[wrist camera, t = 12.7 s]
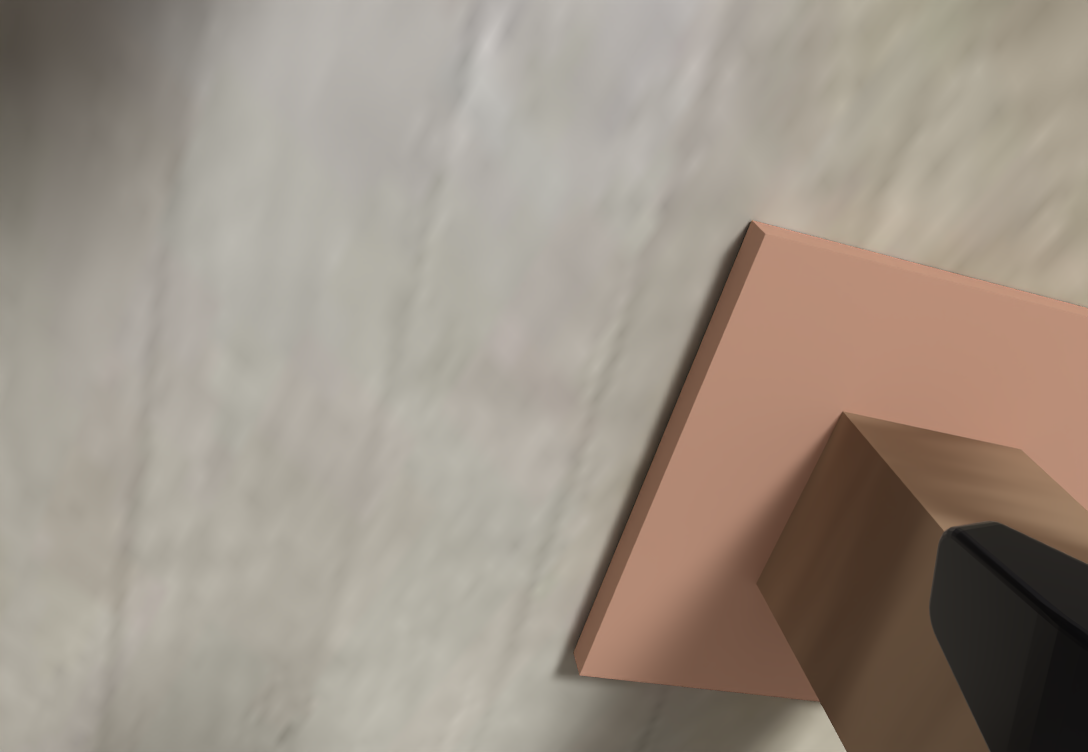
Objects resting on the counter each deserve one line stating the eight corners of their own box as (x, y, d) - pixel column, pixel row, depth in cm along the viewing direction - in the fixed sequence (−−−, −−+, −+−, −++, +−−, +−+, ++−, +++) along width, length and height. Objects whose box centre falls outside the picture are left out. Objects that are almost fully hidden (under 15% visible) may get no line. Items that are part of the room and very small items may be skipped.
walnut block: (756, 583, 25) (943, 932, 17) (842, 411, 23) (1102, 718, 15) (925, 609, 26) (1169, 940, 18) (1021, 449, 24) (1342, 746, 16)
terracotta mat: (573, 652, 26) (579, 675, 25) (751, 220, 21) (765, 233, 20) (958, 696, 29) (972, 718, 29) (1189, 334, 24) (1214, 349, 24)
